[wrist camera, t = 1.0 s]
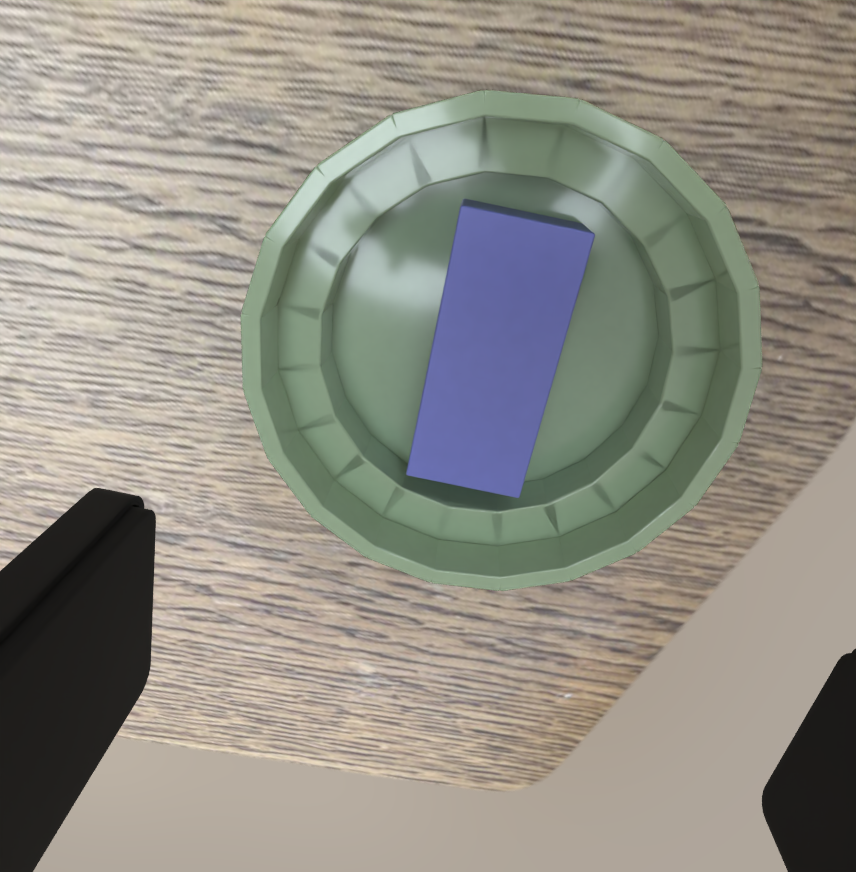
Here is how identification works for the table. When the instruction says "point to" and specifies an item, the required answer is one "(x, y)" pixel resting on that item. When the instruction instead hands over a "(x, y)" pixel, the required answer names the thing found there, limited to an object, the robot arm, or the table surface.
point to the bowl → (579, 361)
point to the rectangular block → (496, 345)
